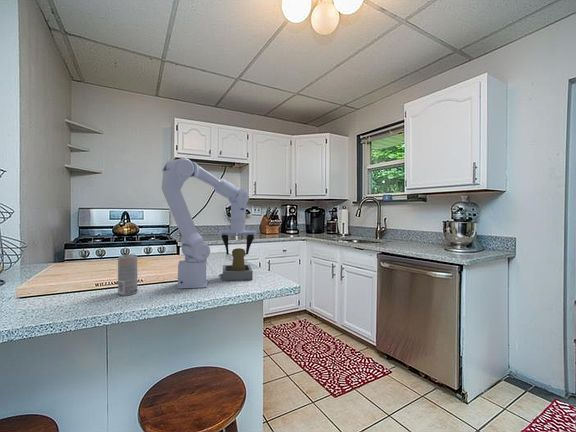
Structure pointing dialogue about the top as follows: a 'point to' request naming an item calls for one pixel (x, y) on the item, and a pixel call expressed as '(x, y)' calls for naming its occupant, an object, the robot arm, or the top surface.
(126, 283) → the energy drink
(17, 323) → the top surface
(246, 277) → the box
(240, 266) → the cork
